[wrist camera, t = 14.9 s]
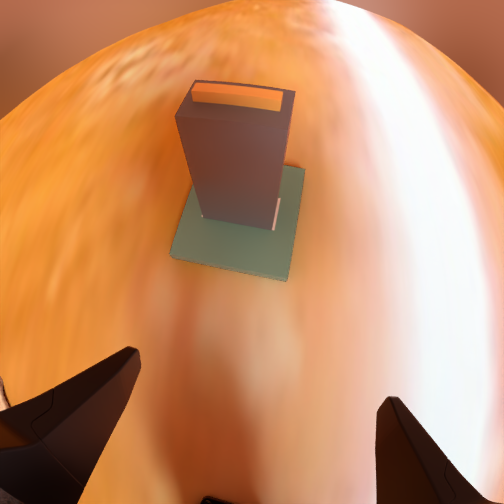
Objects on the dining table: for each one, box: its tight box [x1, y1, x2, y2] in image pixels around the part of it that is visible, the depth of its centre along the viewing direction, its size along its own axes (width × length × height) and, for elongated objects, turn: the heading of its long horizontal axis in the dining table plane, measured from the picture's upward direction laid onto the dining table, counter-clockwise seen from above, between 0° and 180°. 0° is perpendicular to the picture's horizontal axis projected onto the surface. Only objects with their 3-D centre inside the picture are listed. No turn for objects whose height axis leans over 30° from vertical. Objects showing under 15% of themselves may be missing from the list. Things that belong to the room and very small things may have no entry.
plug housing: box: [175, 80, 295, 231], centre depth 20 cm, size 3×6×13 cm, turn 79°
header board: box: [169, 165, 305, 281], centre depth 25 cm, size 11×10×4 cm
